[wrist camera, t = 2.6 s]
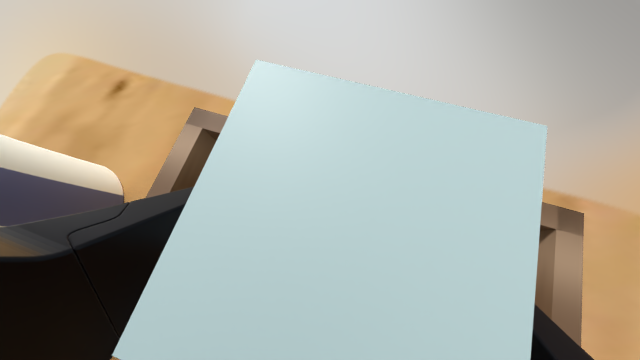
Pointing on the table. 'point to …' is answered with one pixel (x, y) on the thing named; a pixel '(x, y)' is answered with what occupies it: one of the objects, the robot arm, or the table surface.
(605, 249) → the table surface
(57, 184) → the blue striped jug
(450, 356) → the block
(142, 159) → the table surface
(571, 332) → the u-shaped wooden frame
